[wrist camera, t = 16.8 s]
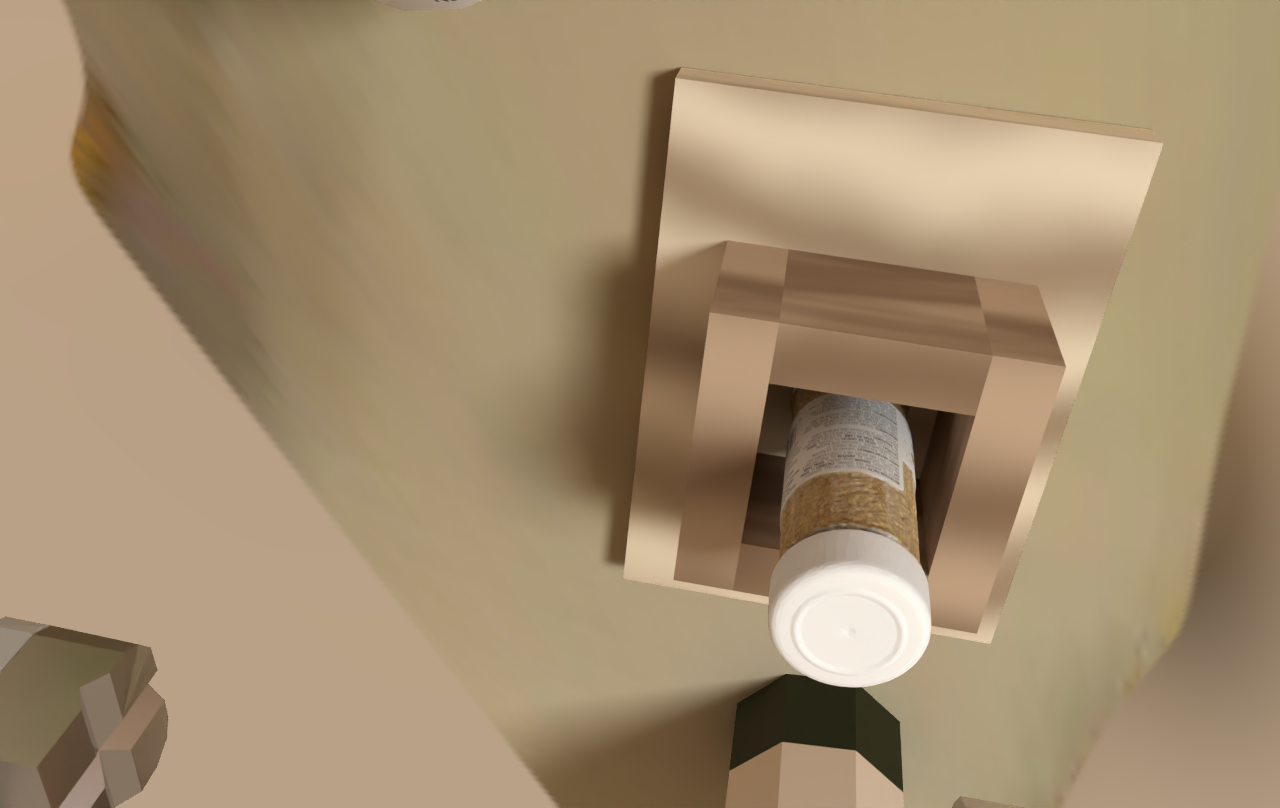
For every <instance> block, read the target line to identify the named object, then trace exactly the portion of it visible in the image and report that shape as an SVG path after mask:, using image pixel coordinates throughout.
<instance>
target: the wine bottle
mask: <svg viewBox="0 0 1280 808" xmlns="http://www.w3.org/2000/svg"><path fill="white" fill-rule="evenodd" d="M725 808H904V799H903V779H902V759H901V739H900V722H899V721H898V720H897V719H896V718H895V717H894V716H893V715H892V714H890V713H889V712H888V711H887V710H886V709H885V708H884V707H883V706H882V705H881V704H879V703H878V702H877V701H876V700H875V699H874V698H873V697H872V696H871V695H870V694H868V693H867V692H866V691H865V690H864V689H863V688H862V687H841V686H835V685H830V684H825V683H822V682H819V681H816V680H814V679H812V678H809V677H807V676H798V675H789V674H787V675H785V676H783V677H782V678H780V679H778V680H776V681H775V682H773V683H771V684H770V685H768V686H766V687H765V688H763V689H761V690H759V691H758V692H756V693H754V694H753V695H751V696H749V697H748V698H746V699H744V700H742V701H741V702H739V703H738V704H737V712H736V720H735V729H734V737H733V745H732V754H731V762H730V771H729V779H728V787H727V796H726V804H725Z"/></svg>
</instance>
